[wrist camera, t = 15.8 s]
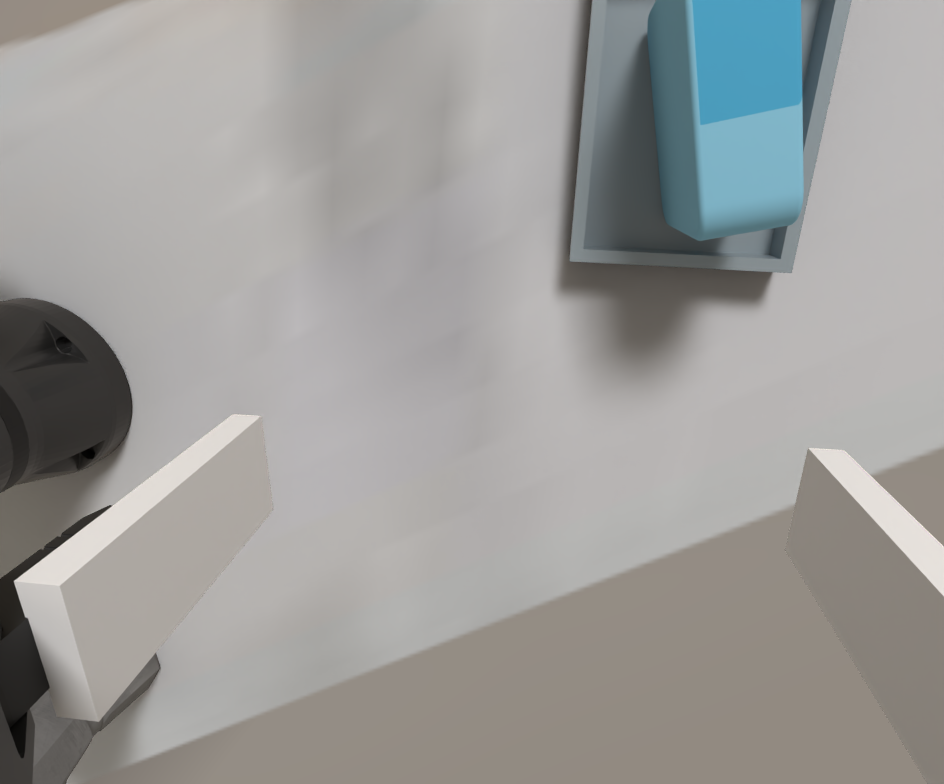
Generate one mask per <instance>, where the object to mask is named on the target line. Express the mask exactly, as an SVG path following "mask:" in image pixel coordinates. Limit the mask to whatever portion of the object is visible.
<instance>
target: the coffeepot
mask: <svg viewBox="0 0 944 784" xmlns="http://www.w3.org/2000/svg"><path fill="white" fill-rule="evenodd" d="M159 669H160V667H159V662H158V658H157V655H156V653H155V654H154V655H153V657H152V658H151V659H150V660H149V662H148V663H147V664H146V665H145V666H144V668H143V669H142V670H141V671H140V672H139V674H138V675H137V676H136V677H135V679H134V680H133V681H132V682H131V683H130V685H129V686H128V687H127V688H126V689H125V691H124V692H123V693H122V694H121V695H120V697H119V698H118V699H117V700H116V702H115V703H114V704H113V705H112V706H111V708H110V709H109V710H108V711H107V712H106V714H105V715H104V716H103V717H102V719H101V720H100V721H99V722H96V721H88V720H80V719H72V718H65V717H57V715H56V712H55V709H54V706H53V703H52V700H51V696H50V693H49V690H47V691H46V692H45V693H44V694H43V695H42V696H41V697H40V699H39V700H38V701H37V702H36V703H35V704H34V705H33V706H32V707H31V708H30V710H31V713H32V716H33V719H34V722H35V739H34V762H33V784H66V781H67V779H68V777H69V776H70V774H71V772H72V771H73V769H74V768H75V766H76V765H77V763H78V762H79V760H80V759H81V757H82V755H83V754H84V752H85V751H86V749H87V747H88V746H89V744H90V742H91V740H92V738H93V736H94V735H95V734H96V733H97V732H98V731H101V730H102V729H103V728H104V727H105V726H107V725H108V724H109V723H110V722H111V721H112V720H113V719H114V718H115V717H117V716H118V715H119V714H120V713H121V712H122V711H123V710H124V709H125V708H126V707H128V706H129V705H130V704H131V703H132V702H133V701H134V700H135V699H136V698H138V697H139V696H140V695H141V694H142V693H143V692H144V691H145V690H146V689H148V687H149V686H150V684H151V682H152V681H153V679H154V678H155V676H156V674H157V672H158V670H159Z"/></svg>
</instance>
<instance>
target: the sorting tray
mask: <svg viewBox="0 0 944 784" xmlns="http://www.w3.org/2000/svg"><path fill="white" fill-rule="evenodd" d="M655 2H656V0H592V3H591V14H590V26H589V37H588V48H587V60H586V71H585V83H584V94H583V105H582V117H581V128H580V140H579V151H578V162H577V174H576V185H575V197H574V208H573V219H572V231H571V242H570V253H569V260H570V261H571V262H590V263H609V264H628V265H647V266H666V267H685V268H704V269H723V270H742V271H761V272H780V273H792V269H793V264H794V259H795V255H796V250H797V246H798V241H799V237H800V232H801V228H802V223H803V219H804V214H805V209H806V205H807V200H808V196H809V191H810V187H811V182H812V178H813V173H814V169H815V164H816V159H817V155H818V150H819V146H820V141H821V137H822V132H823V128H824V123H825V119H826V114H827V109H828V105H829V100H830V96H831V91H832V87H833V82H834V78H835V73H836V69H837V64H838V59H839V55H840V50H841V46H842V41H843V37H844V32H845V28H846V23H847V19H848V14H849V9H850V5H851V0H801V33H802V105H803V176H804V195H803V204H802V209H801V212H800V215H799V217H798V219H797V220H796V221H795V222H794V223H793V224H792V225H789V226H783V227H778V228H772V229H766V230H760V231H755V232H749V233H743V234H737V235H731V236H726V237H720V238H714V239H708V240H703V241H698V240H696V239H694V238H692V237H690V236H688V235H686V234H684V233H683V232H681V231H679V230H677V229H675V228H673V227H671V226H669V225H668V224H667V223H666V221H665V218H664V214H663V208H662V201H661V189H660V178H659V166H658V155H657V144H656V132H655V121H654V109H653V98H652V86H651V75H650V63H649V52H648V36H647V26H648V16H649V13H650V11H651V9H652V7H653V5H654V3H655Z"/></svg>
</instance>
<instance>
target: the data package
mask: <svg viewBox="0 0 944 784" xmlns="http://www.w3.org/2000/svg"><path fill="white" fill-rule="evenodd" d="M647 36H648V52H649V63H650V75H651V86H652V98H653V109H654V121H655V132H656V144H657V155H658V166H659V178H660V189H661V201H662V208H663V214H664V218H665V221H666V223H667V224H668V225H669V226H671V227H673V228H675V229H677V230H679V231H681V232H683V233H684V234H686V235H688V236H690V237H692V238H694V239H696V240H698V241H703V240H708V239H714V238H720V237H726V236H731V235H737V234H743V233H749V232H755V231H760V230H766V229H772V228H778V227H783V226H789V225H792V224H793V223H794V222H795V221H796V220H797V219H798V217H799V215H800V212H801V209H802V204H803V195H804V176H803V105H802V33H801V0H656V2H655V3H654V5H653V7H652V9H651V11H650V13H649V16H648V26H647Z"/></svg>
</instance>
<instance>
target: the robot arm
mask: <svg viewBox="0 0 944 784" xmlns="http://www.w3.org/2000/svg"><path fill="white" fill-rule="evenodd" d="M130 418H131V396H130V390H129V386H128V382H127V379H126V376H125V374H124V371H123V369H122V367H121V365H120V363H119V361H118V359H117V357H116V356H115V354H114V353H113V351H112V350H111V348H110V347H109V345H108V344H107V343H106V342H105V340H104V339H103V338H102V337H101V336H100V335H99V334H98V333H97V332H96V331H95V330H94V329H93V328H92V327H91V326H90V325H89V324H87V323H86V322H85V321H84V320H82V319H81V318H80V317H78V316H77V315H75V314H74V313H72V312H70V311H68V310H66V309H64V308H62V307H60V306H58V305H55V304H53V303H50V302H46V301H43V300H38V299H30V298H20V299H12V300H7V301H3V302H0V493H1V492H3V491H5V490H6V489H8V488H10V487H12V486H14V485H17V484H22V483H27V482H32V481H36V480H41V479H46V478H51V477H55V476H60V475H65V474H70V473H74V472H77V471H80V470H82V469H85V468H87V467H89V466H91V465H92V464H94V463H96V462H97V461H99V460H101V459H102V458H104V457H105V456H107V455H109V454H110V453H111V452H113V451H114V450H115V449H116V448H117V447H118V446H119V444H120V443H121V442H122V440H123V438H124V437H125V435H126V433H127V430H128V427H129V423H130ZM272 511H273V503H272V495H271V487H270V479H269V471H268V463H267V456H266V448H265V440H264V432H263V424H262V416H255V415H238V414H233V415H231V416H230V417H229V418H227V419H226V420H225V421H223V422H222V423H221V424H219V425H218V426H217V427H215V428H214V429H213V430H212V431H210V432H209V433H208V434H206V435H205V436H204V437H202V438H201V439H200V440H198V441H197V442H196V443H194V444H193V445H192V446H191V447H189V448H188V449H187V450H185V451H184V452H183V453H181V454H180V455H179V456H177V457H176V458H175V459H173V460H172V461H171V462H170V463H168V464H167V465H166V466H164V467H163V468H162V469H160V470H159V471H158V472H156V473H155V474H154V475H152V476H151V477H150V478H149V479H147V480H146V481H145V482H143V483H142V484H141V485H139V486H138V487H137V488H135V489H134V490H133V491H131V492H130V493H129V494H128V495H126V496H125V497H124V498H122V499H121V500H120V501H118V502H117V503H116V504H114V505H113V506H111V505H109V506H107V507H105V508H103V509H101V510H99V511H97V512H94V513H92V514H90V515H88V516H86V517H84V518H82V519H81V520H79V521H78V522H77V523H75V524H74V525H72V526H71V527H70V528H68V529H67V530H66V531H64V532H63V533H62V535H61V537H56V538H55V539H54V540H52V541H51V542H49V543H48V544H47V545H45V546H44V547H45V548H44V550H39V551H37V552H36V553H35V554H33V555H32V556H31V557H29V558H28V559H26V560H25V561H24V562H22V563H21V564H20V565H18V566H17V567H16V568H14V569H13V570H12V571H10V572H9V573H8V574H6V575H5V576H3V577H2V578H1V579H0V784H33V762H34V739H35V722H34V719H33V716H32V713H31V710H30V708H31V707H32V706H33V705H34V704H35V703H36V702H37V701H38V700H39V699H40V697H41V696H42V695H43V694H44V693H45V692H46V691H47V690H49V693H50V696H51V700H52V703H53V706H54V709H55V712H56V715H57V717H65V718H72V719H80V720H88V721H96V722H99V721H100V720H101V719H102V717H103V716H104V715H105V714H106V712H107V711H108V710H109V709H110V708H111V706H112V705H113V704H114V703H115V702H116V700H117V699H118V698H119V697H120V695H121V694H122V693H123V692H124V691H125V689H126V688H127V687H128V686H129V685H130V683H131V682H132V681H133V680H134V679H135V677H136V676H137V675H138V674H139V672H140V671H141V670H142V669H143V668H144V666H145V665H146V664H147V663H148V662H149V660H150V659H151V658H152V657H153V655H154V654H155V653H156V652H157V651H158V649H159V648H160V647H161V646H162V645H163V643H164V642H165V641H166V640H167V638H168V637H169V636H170V635H171V634H172V632H173V631H174V630H175V629H176V628H177V626H178V625H179V624H180V623H181V621H182V620H183V619H184V618H185V617H186V615H187V614H188V613H189V612H190V611H191V609H192V608H193V607H194V606H195V604H196V603H197V602H198V601H199V600H200V598H201V597H202V596H203V595H204V594H205V592H206V591H207V590H208V589H209V587H210V586H211V585H212V584H213V583H214V581H215V580H216V579H217V578H218V577H219V575H220V574H221V573H222V572H223V571H224V569H225V568H226V567H227V566H228V564H229V563H230V562H231V561H232V560H233V558H234V557H235V556H236V555H237V554H238V552H239V551H240V550H241V549H242V547H243V546H244V545H245V544H246V543H247V541H248V540H249V539H250V538H251V537H252V535H253V534H254V533H255V532H256V530H257V529H258V528H259V527H260V526H261V524H262V523H263V522H264V521H265V520H266V518H267V517H268V516H269V515H270V513H271V512H272ZM785 551H786V552H787V554H788V556H789V557H790V559H791V560H792V562H793V564H794V566H795V567H796V569H797V570H798V572H799V574H800V575H801V577H802V579H803V580H804V582H805V584H806V585H807V587H808V589H809V590H810V592H811V593H812V595H813V597H814V598H815V600H816V602H817V603H818V605H819V607H820V608H821V610H822V612H823V613H824V615H825V617H826V618H827V620H828V621H829V623H830V625H831V626H832V628H833V630H834V631H835V633H836V635H837V636H838V638H839V640H840V641H841V643H842V644H843V646H844V648H845V649H846V651H847V653H848V654H849V656H850V658H851V659H852V661H853V663H854V664H855V666H856V667H857V669H858V671H859V672H860V674H861V676H862V677H863V679H864V681H865V682H866V684H867V685H868V687H869V689H870V690H871V692H872V694H873V695H874V697H875V699H876V700H877V702H878V703H879V705H880V707H881V708H882V710H883V712H884V713H885V715H886V717H887V718H888V720H889V722H890V723H891V725H892V727H893V728H894V730H895V732H896V733H897V735H898V736H899V738H900V740H901V741H902V743H903V745H904V746H905V748H906V750H907V751H908V753H909V755H910V756H911V758H912V759H913V761H914V763H915V764H916V766H917V768H918V769H919V771H920V773H921V774H922V776H923V778H924V779H925V781H926V782H927V784H944V546H943V545H942V544H941V543H939V542H938V541H937V540H936V539H935V538H934V537H933V536H932V535H931V534H930V533H929V532H928V531H927V530H926V529H925V528H924V527H923V526H922V525H921V524H920V523H919V522H918V521H917V520H916V519H914V517H913V516H912V515H911V514H909V513H908V512H907V511H906V510H905V509H904V508H903V507H902V506H901V505H900V504H899V503H898V502H897V501H896V500H895V499H894V498H893V497H892V496H891V495H890V494H889V493H888V492H887V491H886V490H884V489H883V488H882V487H881V486H880V485H879V484H878V483H877V482H876V481H875V480H874V479H873V478H872V477H871V476H870V475H869V474H868V473H867V472H866V471H865V470H864V469H863V468H862V467H861V466H860V465H859V464H858V463H857V462H856V461H855V460H854V459H853V458H852V457H850V456H849V455H848V454H847V453H846V452H845V451H844V450H833V449H816V448H808V451H807V455H806V459H805V464H804V468H803V473H802V477H801V481H800V486H799V490H798V495H797V499H796V503H795V508H794V512H793V517H792V521H791V526H790V530H789V534H788V539H787V543H786V548H785Z"/></svg>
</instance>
